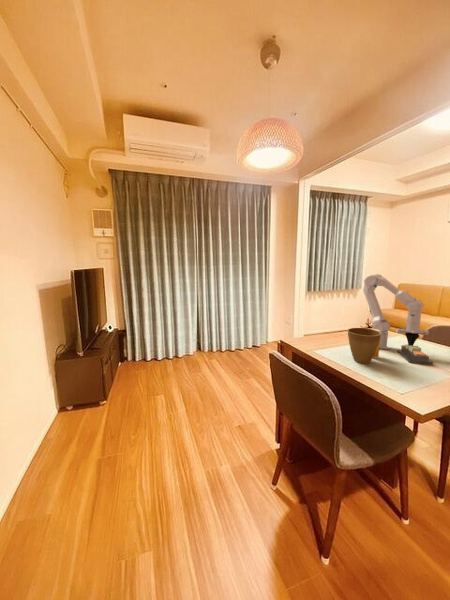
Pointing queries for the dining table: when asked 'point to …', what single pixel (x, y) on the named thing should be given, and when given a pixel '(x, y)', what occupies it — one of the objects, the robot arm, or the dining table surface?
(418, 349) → the key sage
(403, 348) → the console
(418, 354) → the key terracotta
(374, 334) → the plant pot
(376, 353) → the beer can
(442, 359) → the dining table surface
